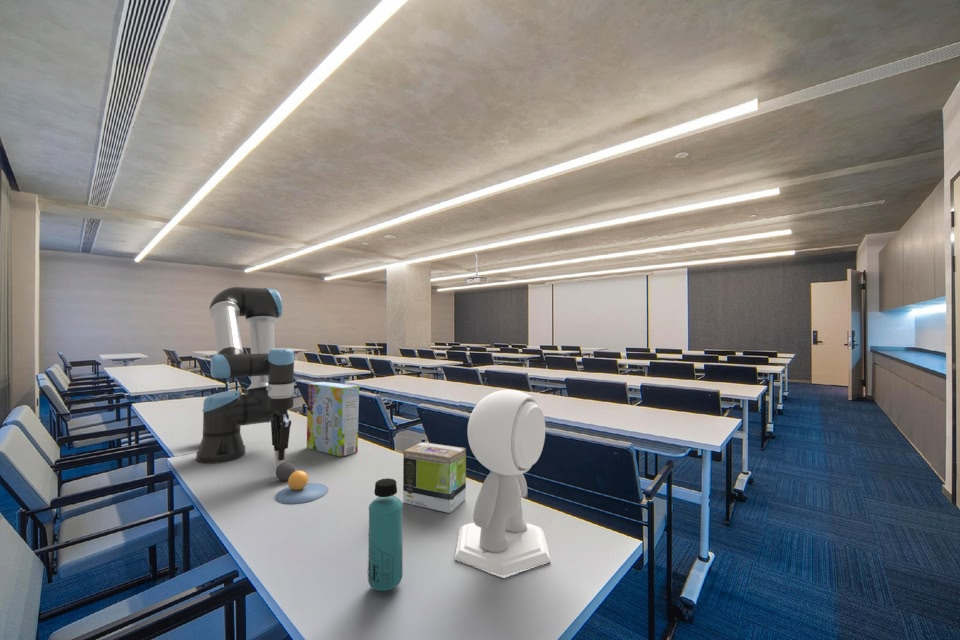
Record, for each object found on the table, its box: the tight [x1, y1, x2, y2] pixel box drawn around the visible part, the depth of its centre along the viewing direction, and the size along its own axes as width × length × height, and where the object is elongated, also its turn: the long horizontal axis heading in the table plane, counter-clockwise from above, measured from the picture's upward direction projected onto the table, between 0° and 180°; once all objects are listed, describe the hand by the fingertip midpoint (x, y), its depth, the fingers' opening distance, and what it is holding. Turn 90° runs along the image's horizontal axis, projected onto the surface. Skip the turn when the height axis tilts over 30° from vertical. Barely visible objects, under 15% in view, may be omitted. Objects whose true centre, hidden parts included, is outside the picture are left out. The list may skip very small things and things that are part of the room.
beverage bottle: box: [367, 478, 404, 592], centre depth 74 cm, size 6×7×20 cm
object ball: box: [287, 470, 309, 491], centre depth 118 cm, size 6×6×6 cm
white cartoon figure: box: [454, 389, 551, 576], centre depth 89 cm, size 20×23×35 cm
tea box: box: [402, 441, 467, 514], centre depth 111 cm, size 15×10×15 cm
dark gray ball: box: [275, 461, 296, 482], centre depth 125 cm, size 6×6×6 cm
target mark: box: [274, 482, 329, 505], centre depth 115 cm, size 14×14×1 cm
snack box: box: [306, 381, 360, 458], centre depth 155 cm, size 22×9×26 cm, turn 58°
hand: (279, 469), depth 129 cm, fingers closed
